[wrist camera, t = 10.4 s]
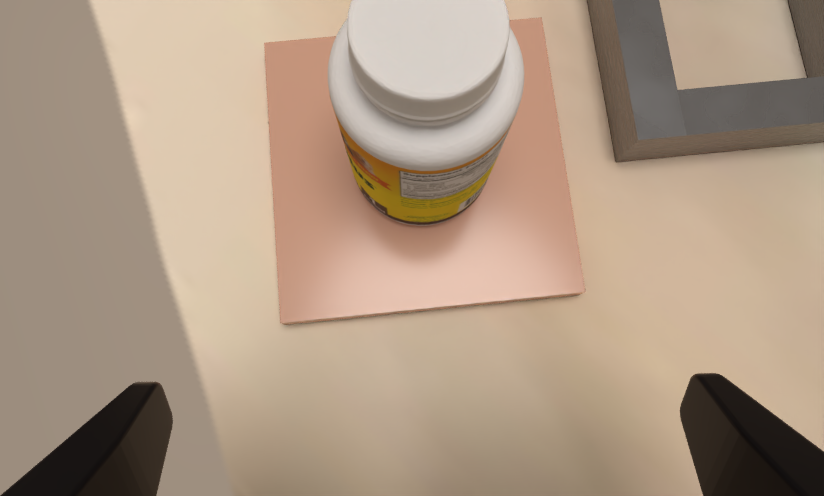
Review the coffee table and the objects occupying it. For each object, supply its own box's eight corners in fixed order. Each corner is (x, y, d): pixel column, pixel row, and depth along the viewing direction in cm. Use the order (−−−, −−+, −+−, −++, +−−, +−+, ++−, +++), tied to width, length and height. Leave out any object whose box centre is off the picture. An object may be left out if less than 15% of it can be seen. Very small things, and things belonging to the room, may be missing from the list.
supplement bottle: (346, 108, 24) (303, -71, 14) (478, 95, 25) (526, -91, 15) (358, 237, 23) (321, 143, 13) (496, 223, 23) (562, 118, 13)
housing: (866, 137, 25) (915, 113, 23) (616, 162, 25) (638, 140, 23) (807, -83, 27) (846, -127, 25) (576, -62, 27) (592, -105, 25)
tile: (578, 295, 24) (585, 292, 23) (286, 324, 24) (280, 323, 23) (536, 30, 26) (541, 17, 25) (269, 54, 26) (264, 42, 25)
